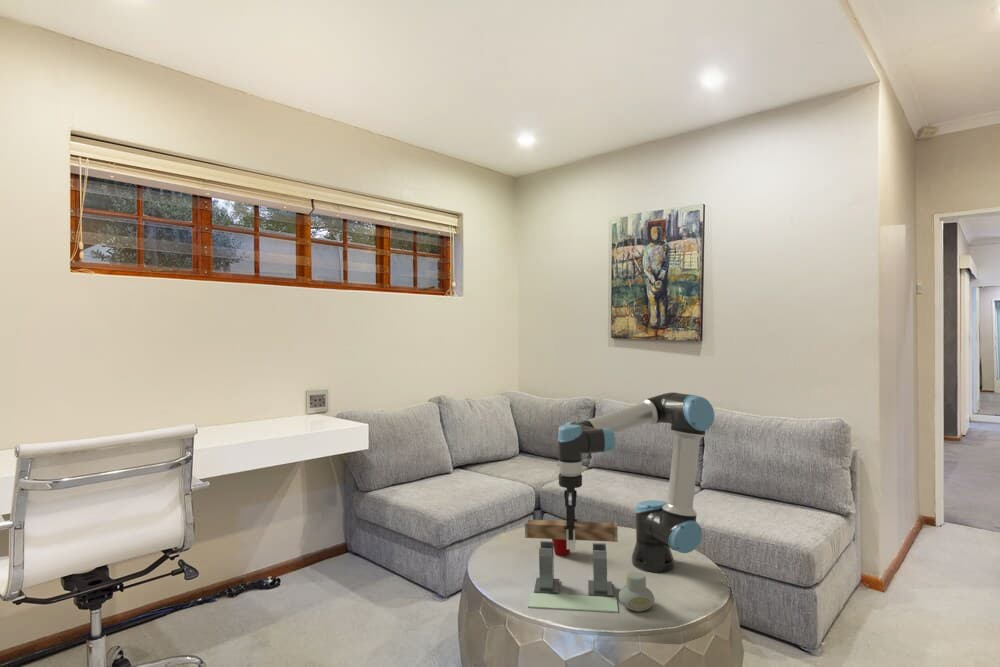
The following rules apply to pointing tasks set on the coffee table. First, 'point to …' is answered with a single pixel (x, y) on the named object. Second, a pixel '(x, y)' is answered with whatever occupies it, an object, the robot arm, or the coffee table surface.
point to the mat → (573, 602)
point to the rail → (582, 530)
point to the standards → (551, 585)
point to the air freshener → (636, 593)
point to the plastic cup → (560, 547)
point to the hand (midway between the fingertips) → (571, 545)
